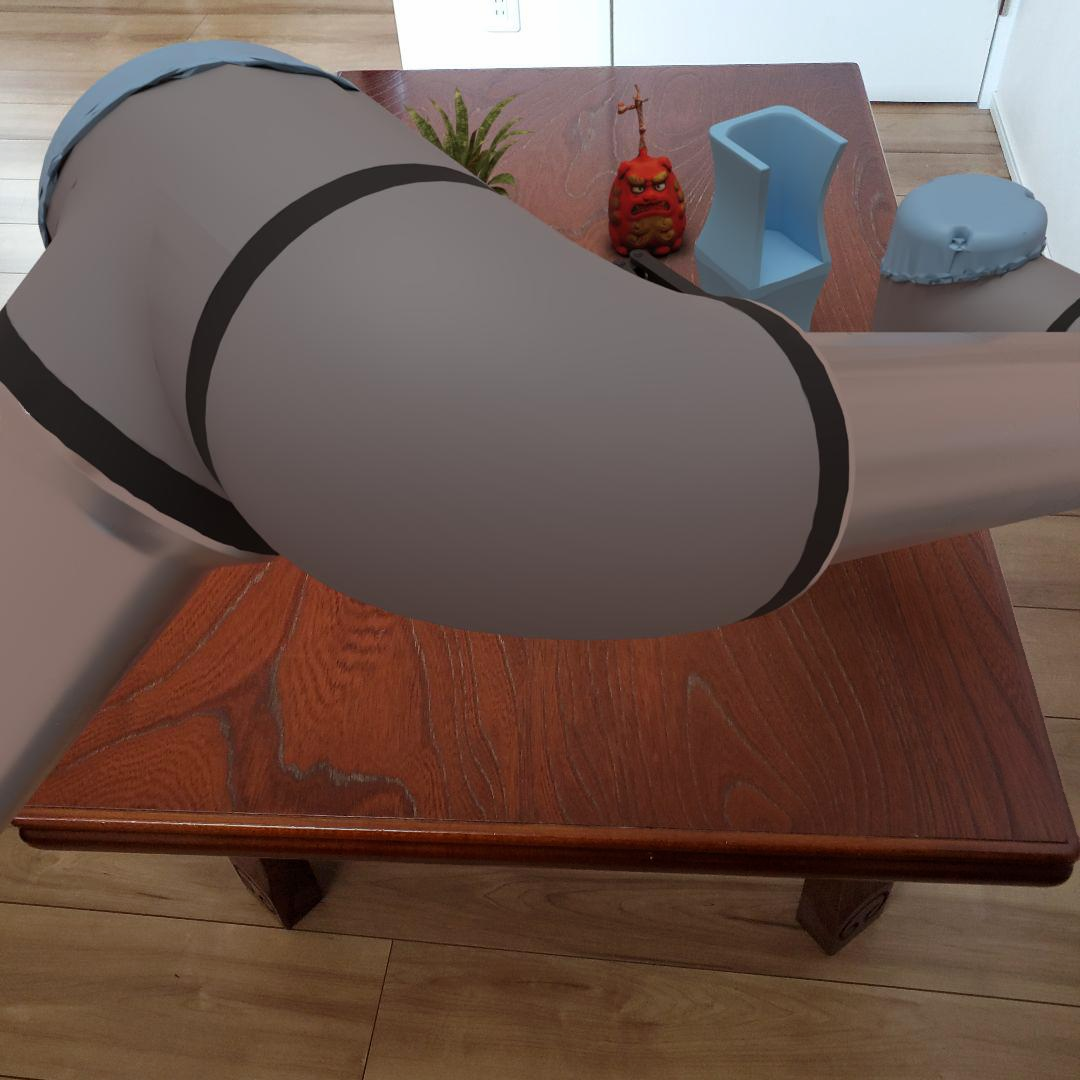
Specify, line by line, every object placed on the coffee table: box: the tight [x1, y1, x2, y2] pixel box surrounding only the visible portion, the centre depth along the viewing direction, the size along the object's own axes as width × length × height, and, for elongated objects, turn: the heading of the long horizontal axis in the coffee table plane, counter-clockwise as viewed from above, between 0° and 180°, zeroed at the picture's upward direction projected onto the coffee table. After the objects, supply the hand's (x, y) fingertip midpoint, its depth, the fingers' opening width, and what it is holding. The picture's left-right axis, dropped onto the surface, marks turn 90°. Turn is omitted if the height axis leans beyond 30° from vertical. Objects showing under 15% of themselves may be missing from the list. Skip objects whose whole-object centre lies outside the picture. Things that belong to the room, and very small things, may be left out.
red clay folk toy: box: [607, 83, 687, 256], centre depth 106 cm, size 8×7×15 cm
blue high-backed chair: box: [693, 105, 849, 332], centre depth 91 cm, size 8×8×20 cm
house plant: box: [403, 86, 536, 199], centre depth 105 cm, size 14×14×16 cm
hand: (478, 310), depth 79 cm, fingers open, 13 cm apart
